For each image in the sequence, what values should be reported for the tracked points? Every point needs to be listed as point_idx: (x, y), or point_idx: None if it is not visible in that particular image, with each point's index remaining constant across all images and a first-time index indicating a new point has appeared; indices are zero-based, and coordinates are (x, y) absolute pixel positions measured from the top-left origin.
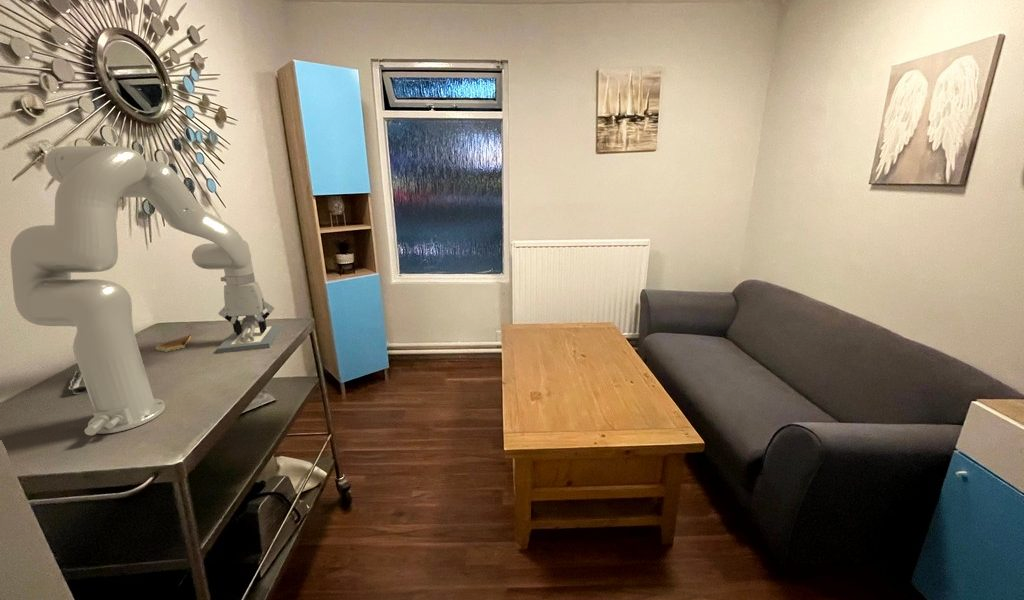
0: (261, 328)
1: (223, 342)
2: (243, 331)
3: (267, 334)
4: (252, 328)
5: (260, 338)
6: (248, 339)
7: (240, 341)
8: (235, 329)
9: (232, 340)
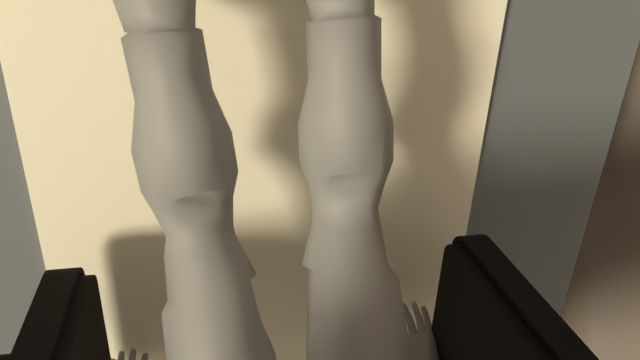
0: (28, 335)
1: (622, 87)
2: (366, 156)
3: (19, 293)
4: (198, 290)
5: (42, 94)
6: (267, 97)
7: (383, 31)
8: (542, 302)
9: (512, 144)
